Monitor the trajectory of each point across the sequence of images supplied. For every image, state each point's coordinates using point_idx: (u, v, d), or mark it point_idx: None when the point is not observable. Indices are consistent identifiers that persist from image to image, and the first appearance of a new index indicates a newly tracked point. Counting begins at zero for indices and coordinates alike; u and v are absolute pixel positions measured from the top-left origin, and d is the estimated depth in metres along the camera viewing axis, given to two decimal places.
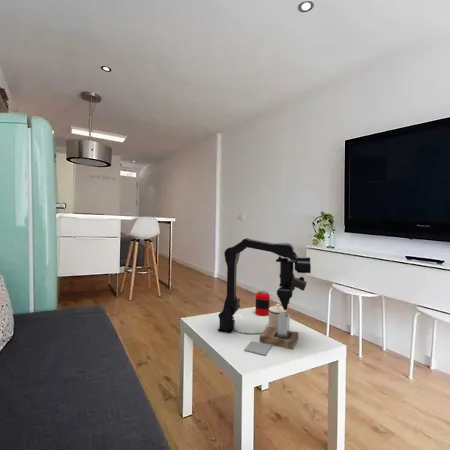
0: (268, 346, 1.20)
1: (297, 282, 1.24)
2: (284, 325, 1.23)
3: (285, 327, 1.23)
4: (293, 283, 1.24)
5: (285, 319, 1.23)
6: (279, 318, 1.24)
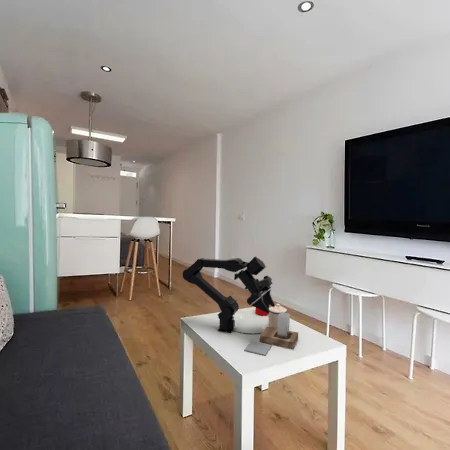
0: (268, 346, 1.20)
1: (260, 282, 1.27)
2: (284, 325, 1.23)
3: (285, 327, 1.23)
4: (258, 286, 1.27)
5: (285, 319, 1.23)
6: (279, 318, 1.24)
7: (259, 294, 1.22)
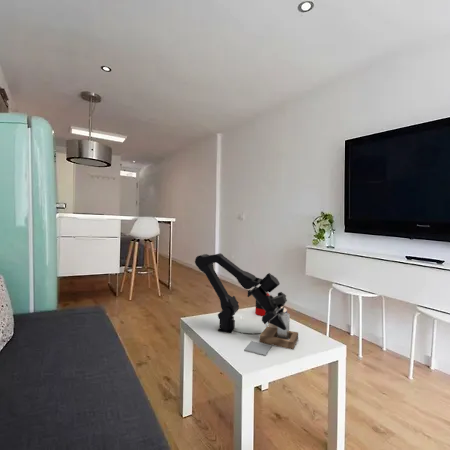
0: (268, 346, 1.20)
1: (275, 300, 1.24)
2: (284, 325, 1.23)
3: None
4: (272, 303, 1.25)
5: (285, 319, 1.23)
6: None
7: (274, 312, 1.20)
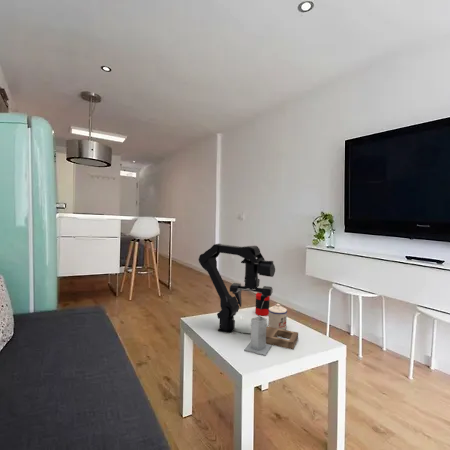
0: (268, 346, 1.20)
1: (258, 280, 1.33)
2: (256, 330, 1.16)
3: (257, 332, 1.16)
4: (258, 282, 1.32)
5: (257, 323, 1.16)
6: (252, 322, 1.18)
7: None
